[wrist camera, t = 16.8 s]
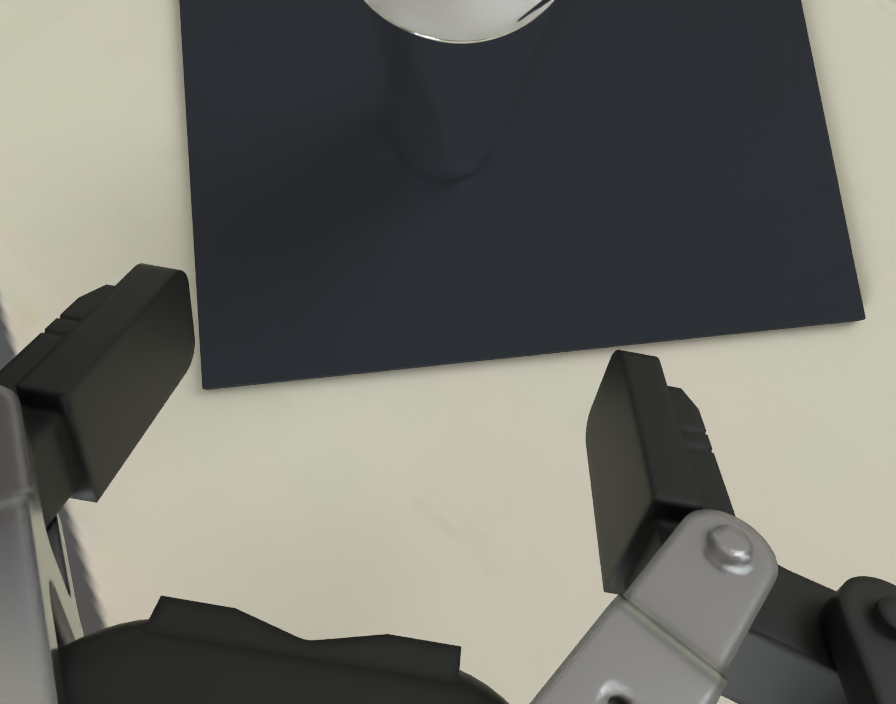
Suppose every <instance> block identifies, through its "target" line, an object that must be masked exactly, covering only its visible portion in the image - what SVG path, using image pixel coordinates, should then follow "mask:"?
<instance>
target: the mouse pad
mask: <svg viewBox="0 0 896 704" xmlns="http://www.w3.org/2000/svg"><path fill="white" fill-rule="evenodd" d="M179 1H180V18H181V34H182V51H183V68H184V85H185V102H186V119H187V136H188V152H189V169H190V186H191V203H192V220H193V237H194V253H195V270H196V287H197V304H198V321H199V338H200V355H201V371H202V388H203V389H206V390H209V389H218V388H228V387H237V386H247V385H256V384H265V383H275V382H284V381H294V380H303V379H313V378H322V377H332V376H341V375H350V374H360V373H369V372H379V371H388V370H398V369H407V368H417V367H426V366H436V365H445V364H454V363H464V362H473V361H483V360H492V359H502V358H511V357H521V356H530V355H539V354H549V353H558V352H568V351H577V350H587V349H596V348H606V347H615V346H625V345H634V344H643V343H653V342H662V341H672V340H681V339H691V338H700V337H710V336H719V335H728V334H738V333H747V332H757V331H766V330H776V329H785V328H795V327H804V326H814V325H823V324H832V323H842V322H851V321H860V320H863V319H865V313H864V308H863V303H862V298H861V293H860V289H859V284H858V279H857V274H856V269H855V264H854V259H853V254H852V249H851V244H850V239H849V234H848V230H847V225H846V220H845V215H844V210H843V205H842V200H841V195H840V190H839V185H838V180H837V175H836V170H835V166H834V161H833V156H832V151H831V146H830V141H829V136H828V131H827V126H826V121H825V116H824V111H823V106H822V102H821V97H820V92H819V87H818V82H817V77H816V72H815V67H814V62H813V57H812V52H811V47H810V42H809V38H808V33H807V28H806V23H805V18H804V13H803V8H802V3H801V0H558V2H557V4H556V6H555V8H554V11H553V13H552V15H551V17H550V19H549V21H548V23H547V25H546V28H545V30H544V32H543V34H542V36H541V38H540V40H539V42H538V45H537V47H536V49H535V51H534V53H533V56H532V58H531V60H530V63H529V65H528V68H527V70H526V73H525V75H524V78H523V80H522V82H521V85H520V87H519V90H518V92H517V94H516V97H515V99H514V102H513V104H512V106H511V109H510V111H509V114H508V116H507V118H506V121H505V123H504V126H503V128H502V130H501V133H500V135H499V137H498V140H497V142H496V145H495V147H494V149H493V151H492V152H491V153H490V154H489V155H488V156H487V157H486V159H485V160H484V161H483V162H482V163H481V164H480V166H479V167H478V168H477V169H476V170H475V171H474V173H473V174H472V175H467V176H463V177H458V178H454V179H450V180H446V181H442V182H439V181H437V180H434V179H431V178H429V177H426V176H424V175H421V174H419V173H416V172H413V171H411V170H409V169H408V167H407V166H406V164H405V163H404V161H403V160H402V158H401V157H400V155H399V154H398V152H397V151H396V149H395V148H394V146H393V145H392V143H391V141H390V137H389V133H388V130H387V126H386V122H385V118H384V114H383V110H382V106H381V102H380V98H379V94H378V91H377V87H376V83H375V79H374V75H373V71H372V67H371V63H370V59H369V55H368V51H367V47H366V43H365V39H364V36H363V32H362V29H361V25H360V22H359V19H358V15H357V12H356V9H355V6H354V2H353V0H179Z"/></svg>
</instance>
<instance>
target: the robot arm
mask: <svg viewBox="0 0 896 704" xmlns="http://www.w3.org/2000/svg"><path fill="white" fill-rule="evenodd" d="M194 347H195V336H194V327H193V318H192V309H191V300H190V291H189V282H188V278H187V275H186V274H185V272H183V271H181V270H176V269H170V268H165V267H159V266H153V265H148V264H142V263H141V264H138V265H136V266H135V267H134V268H133V269H132V270H131V271H130V272H129V273H128V274H127V275H126V276H125V277H124V278H123V279H122V280H121V281H120V282H119V283H118V284H117V285H116V286H111V285H105V286H102V287H100V288H98V289H96V290H94V291H92V292H90V293H88V294H85V295H83V296H81V297H79V298H78V299H77V300H76V301H75V302H74V303H73V304H71V305H70V306H69V307H68V308H67V309H66V310H65V311H64V312H63V313H62V314H61V315H60V319H58V318H56V319H55V320H54V321H53V322H52V323H51V324H50V325H49V326H48V327H47V328H46V329H45V333H40V334H39V335H38V336H37V337H36V338H35V339H34V340H33V341H32V342H31V343H30V344H28V345H27V346H26V347H25V348H24V349H23V350H22V351H21V352H20V353H19V354H18V355H17V356H16V357H15V358H13V359H12V360H11V361H10V362H9V363H8V364H7V365H6V366H5V367H4V368H3V369H2V370H1V371H0V704H509V703H508V702H507V701H506V700H505V699H504V698H502V697H501V696H500V695H499V694H497V693H496V692H495V691H494V690H492V689H491V688H490V687H489V686H487V685H486V684H484V683H483V682H481V681H479V680H478V679H476V678H475V677H473V676H471V675H469V674H467V673H465V672H463V671H461V670H459V668H460V655H461V647H460V646H455V645H449V644H443V643H437V642H431V641H425V640H419V639H413V638H407V637H401V636H396V635H390V634H384V635H372V636H361V637H349V638H337V639H325V640H304V639H301V638H298V637H296V636H294V635H292V634H290V633H288V632H285V631H283V630H281V629H279V628H277V627H275V626H272V625H270V624H268V623H266V622H264V621H262V620H259V619H257V618H255V617H253V616H251V615H249V614H246V613H244V612H242V611H240V610H238V609H236V608H231V607H225V606H219V605H213V604H207V603H201V602H195V601H189V600H183V599H177V598H172V597H166V596H161V597H160V599H159V601H158V603H157V605H156V607H155V609H154V611H153V613H152V615H151V617H150V619H146V620H138V621H133V622H127V623H122V624H118V625H115V626H111V627H108V628H105V629H101V630H99V631H96V632H94V633H91V634H89V635H86V636H84V635H83V631H82V628H81V624H80V620H79V616H78V611H77V606H76V601H75V595H74V590H73V584H72V580H71V574H70V568H69V563H68V558H67V552H66V547H65V541H64V536H63V531H62V525H61V521H60V518H59V515H58V512H59V511H60V509H61V508H62V507H63V505H64V504H65V503H66V501H67V500H68V498H73V499H79V500H85V501H91V502H98V500H99V499H100V497H101V496H102V494H103V493H104V491H105V490H106V489H107V487H108V486H109V484H110V483H111V481H112V480H113V478H114V477H115V475H116V474H117V473H118V471H119V470H120V468H121V467H122V465H123V464H124V462H125V461H126V459H127V458H128V457H129V455H130V454H131V452H132V451H133V449H134V448H135V446H136V445H137V443H138V442H139V441H140V439H141V438H142V436H143V435H144V433H145V432H146V430H147V429H148V427H149V426H150V424H151V423H152V422H153V420H154V419H155V417H156V416H157V414H158V413H159V411H160V410H161V408H162V407H163V406H164V404H165V403H166V401H167V400H168V398H169V397H170V395H171V394H172V392H173V391H174V390H175V388H176V387H177V385H178V384H179V382H180V381H181V379H182V378H183V376H184V375H185V374H186V372H187V370H188V369H189V366H190V364H191V361H192V358H193V354H194ZM705 432H706V429H705V426H704V423H703V421H702V418H701V415H700V412H699V409H698V408H697V407H696V406H695V404H694V403H693V402H692V401H691V400H690V398H689V397H688V396H687V395H686V394H685V392H684V391H683V390H682V389H681V388H676V387H671V386H667V383H666V380H665V377H664V373H663V370H662V367H661V363H660V360H659V359H658V358H657V357H655V356H649V355H644V354H638V353H633V352H627V351H621V350H616V351H615V352H614V353H613V355H612V357H611V359H610V361H609V364H608V366H607V369H606V372H605V374H604V377H603V379H602V382H601V384H600V387H599V389H598V392H597V395H596V397H595V400H594V402H593V405H592V407H591V410H590V413H589V417H588V421H587V428H586V448H587V456H588V464H589V473H590V481H591V489H592V497H593V506H594V514H595V522H596V531H597V539H598V547H599V556H600V564H601V572H602V580H603V589H604V592H608V593H614V594H619V595H617V597H616V598H615V599H614V600H613V601H612V602H611V603H610V604H609V606H608V607H607V608H606V609H605V611H604V612H603V613H602V614H601V616H600V617H599V618H598V619H597V621H596V622H595V623H594V624H593V626H592V627H591V628H590V629H589V631H588V632H587V633H586V634H585V636H584V637H583V638H582V639H581V641H580V642H579V643H578V644H577V646H576V647H575V648H574V649H573V651H572V652H571V653H570V654H569V655H568V657H567V658H566V659H565V660H564V662H563V663H562V664H561V665H560V667H559V668H558V669H557V670H556V672H555V673H554V674H553V675H552V677H551V678H550V679H549V680H548V682H547V683H546V684H545V685H544V687H543V688H542V689H541V690H540V692H539V693H538V694H537V695H536V697H535V698H534V699H533V700H532V702H531V703H530V704H716V703H717V701H718V700H719V698H720V696H721V695H722V696H724V697H726V698H728V699H730V700H732V701H734V702H736V703H738V704H896V586H895V585H893V584H891V583H889V582H886V581H884V580H881V579H877V578H874V577H867V576H858V577H854V578H851V579H849V580H847V581H846V582H845V583H844V584H843V585H842V586H841V587H840V588H839V589H838V590H837V592H836V591H834V590H832V589H830V588H827V587H825V586H823V585H821V584H818V583H816V582H814V581H812V580H809V579H807V578H805V577H802V576H800V575H798V574H796V573H793V572H791V571H789V570H787V569H785V568H783V567H781V566H780V565H778V564H777V560H776V557H775V555H774V553H773V551H772V549H771V547H770V546H769V544H768V543H767V542H766V540H765V539H764V538H763V537H762V536H761V535H760V534H759V533H758V532H757V531H756V530H755V529H754V528H752V527H751V526H750V525H748V524H747V523H746V522H744V521H742V520H741V519H739V518H737V517H736V516H735V514H734V511H733V508H732V505H731V502H730V499H729V496H728V493H727V490H726V487H725V484H724V482H723V479H722V476H721V473H720V470H719V467H718V464H717V461H716V458H715V455H714V453H712V452H711V450H712V447H711V444H710V441H709V438H708V435H705Z"/></svg>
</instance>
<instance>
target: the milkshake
mask: <svg viewBox="0 0 896 704" xmlns="http://www.w3.org/2000/svg"><path fill="white" fill-rule="evenodd" d="M353 2H354V6H355V9H356V12H357V15H358V19H359V22H360V25H361V29H362V32H363V36H364V39H365V43H366V47H367V51H368V55H369V59H370V63H371V67H372V71H373V75H374V79H375V83H376V87H377V91H378V94H379V98H380V102H381V106H382V110H383V114H384V118H385V122H386V126H387V130H388V133H389V137H390V141H391V143H392V145H393V146H394V148H395V149H396V151H397V152H398V154H399V155H400V157H401V158H402V160H403V161H404V163H405V164H406V166H407V167H408V169H409V170H411V171H413V172H416V173H419V174H421V175H424V176H426V177H429V178H431V179H434V180H437V181H439V182H442V181H446V180H450V179H454V178H458V177H463V176H467V175H472V174H473V173H474V171H475V170H476V169H477V168H478V167H479V166H480V164H481V163H482V162H483V161H484V160H485V159H486V157H487V156H488V155H489V154H490V153H491V152H492V151H493V149H494V147H495V145H496V142H497V140H498V137H499V135H500V133H501V130H502V128H503V126H504V123H505V121H506V118H507V116H508V114H509V111H510V109H511V106H512V104H513V102H514V99H515V97H516V94H517V92H518V90H519V87H520V85H521V82H522V80H523V78H524V75H525V73H526V70H527V68H528V65H529V63H530V60H531V58H532V56H533V53H534V51H535V49H536V47H537V45H538V42H539V40H540V38H541V36H542V34H543V32H544V30H545V28H546V25H547V23H548V21H549V19H550V17H551V15H552V13H553V11H554V8H555V6H556V4H557V2H558V0H353Z"/></svg>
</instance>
